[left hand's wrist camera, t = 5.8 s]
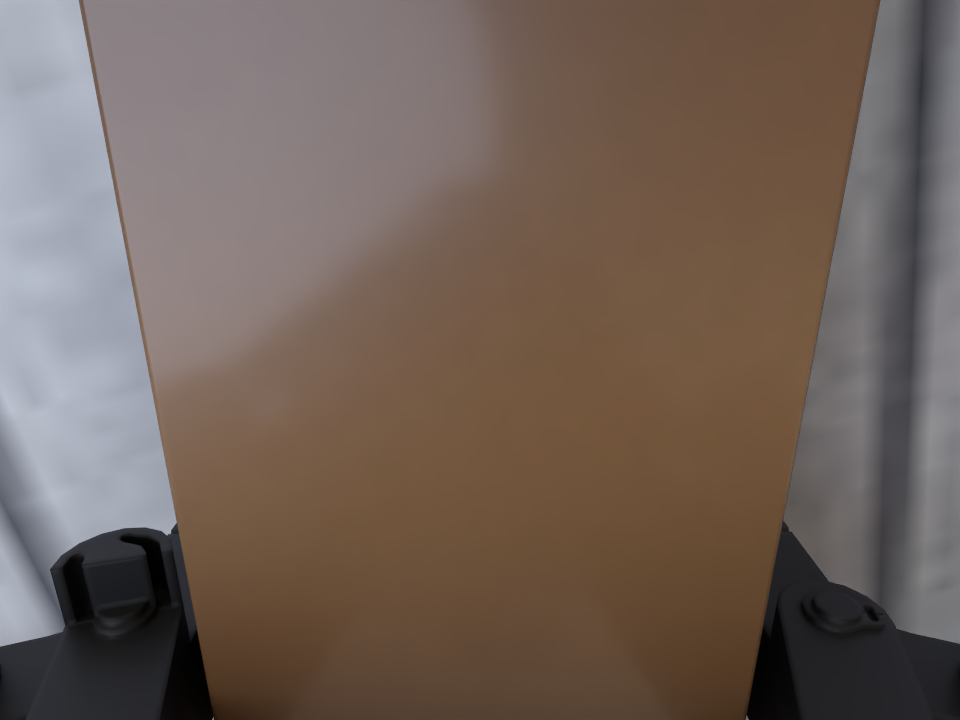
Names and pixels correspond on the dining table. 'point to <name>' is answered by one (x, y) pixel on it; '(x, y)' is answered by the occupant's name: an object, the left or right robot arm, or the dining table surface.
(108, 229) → the dining table surface
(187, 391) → the post
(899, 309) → the dining table surface
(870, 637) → the left robot arm
